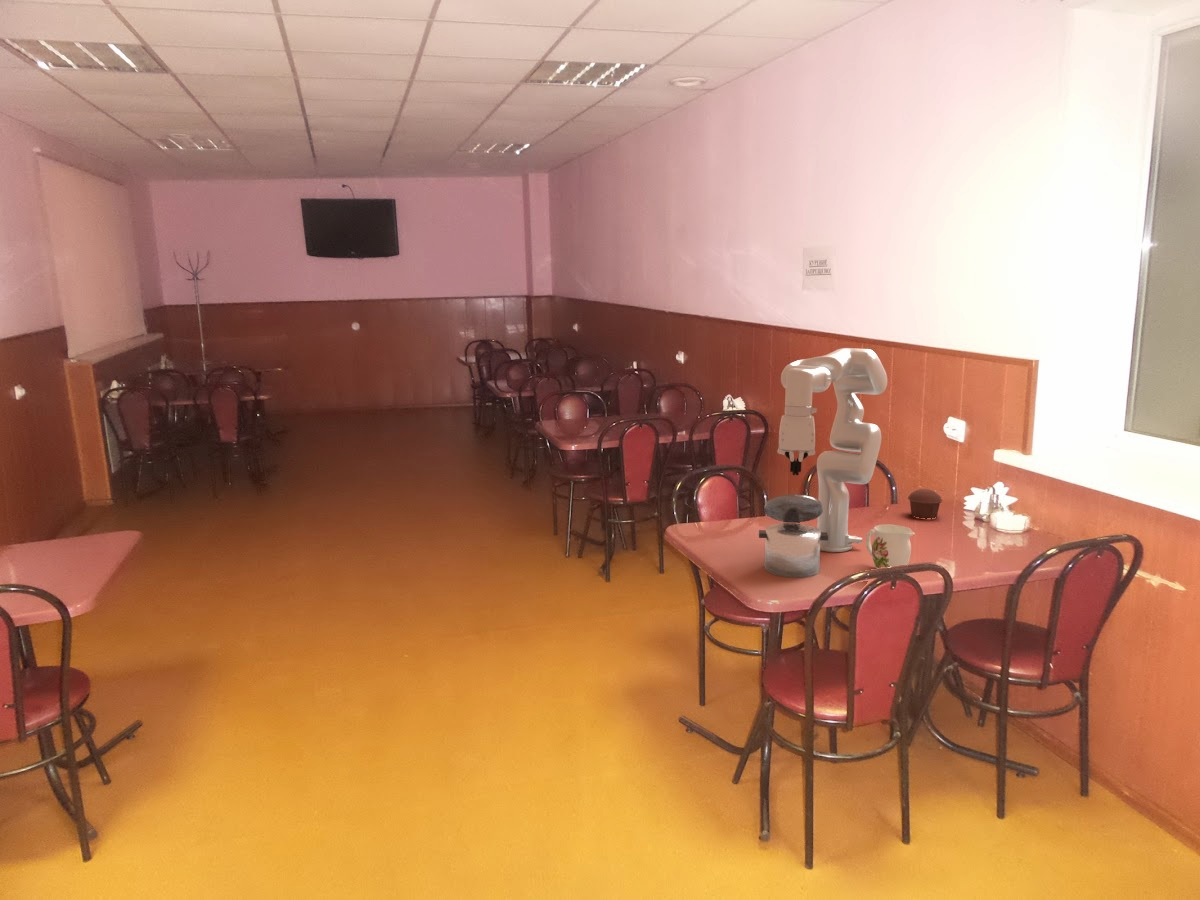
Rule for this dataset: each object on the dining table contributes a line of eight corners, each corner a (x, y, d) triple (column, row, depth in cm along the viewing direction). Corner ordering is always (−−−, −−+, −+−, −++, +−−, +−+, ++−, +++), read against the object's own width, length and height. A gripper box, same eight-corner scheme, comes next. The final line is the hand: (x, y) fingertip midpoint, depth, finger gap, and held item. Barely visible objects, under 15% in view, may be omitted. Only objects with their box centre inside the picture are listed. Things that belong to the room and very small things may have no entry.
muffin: (941, 514, 318) (943, 488, 316) (941, 522, 308) (943, 494, 306) (907, 511, 322) (908, 485, 320) (906, 519, 312) (907, 492, 310)
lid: (763, 522, 266) (763, 513, 267) (819, 524, 263) (819, 515, 265) (765, 497, 251) (765, 488, 252) (825, 499, 248) (825, 490, 250)
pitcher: (878, 559, 267) (881, 516, 264) (924, 576, 251) (927, 531, 248) (851, 565, 262) (854, 521, 259) (896, 583, 246) (899, 536, 243)
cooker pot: (823, 560, 266) (824, 523, 264) (828, 579, 250) (830, 539, 247) (757, 557, 269) (758, 520, 267) (758, 576, 253) (759, 536, 250)
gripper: (823, 410, 249) (820, 472, 252) (771, 409, 251) (768, 470, 255) (826, 414, 242) (823, 478, 245) (772, 412, 244) (769, 476, 247)
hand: (795, 474), depth 250 cm, fingers closed
